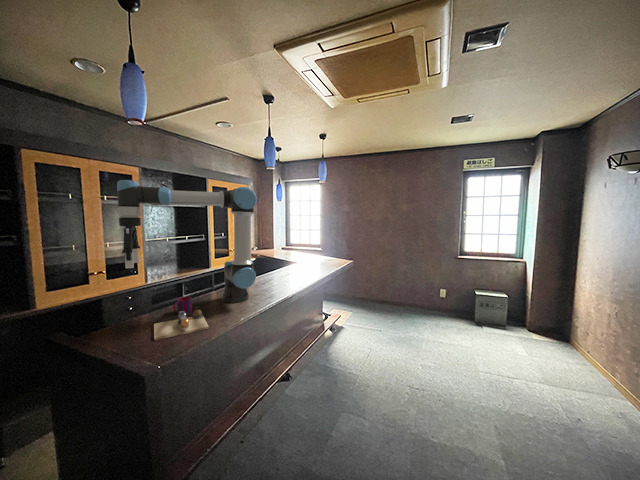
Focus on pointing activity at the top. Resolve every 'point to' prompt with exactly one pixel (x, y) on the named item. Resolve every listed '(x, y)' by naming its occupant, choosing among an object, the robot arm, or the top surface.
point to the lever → (183, 320)
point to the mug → (183, 304)
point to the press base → (174, 326)
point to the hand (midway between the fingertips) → (132, 265)
